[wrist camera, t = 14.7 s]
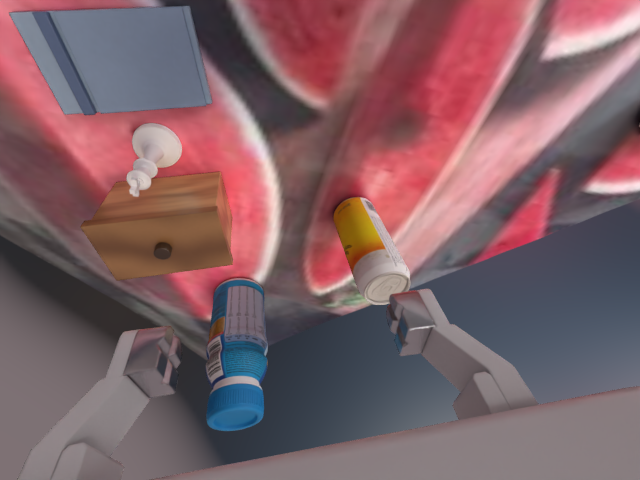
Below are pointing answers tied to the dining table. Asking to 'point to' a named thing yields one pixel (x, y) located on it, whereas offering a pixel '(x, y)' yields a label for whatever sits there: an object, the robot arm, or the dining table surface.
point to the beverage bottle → (236, 355)
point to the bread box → (163, 227)
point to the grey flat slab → (117, 58)
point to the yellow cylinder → (370, 251)
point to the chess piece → (152, 154)
